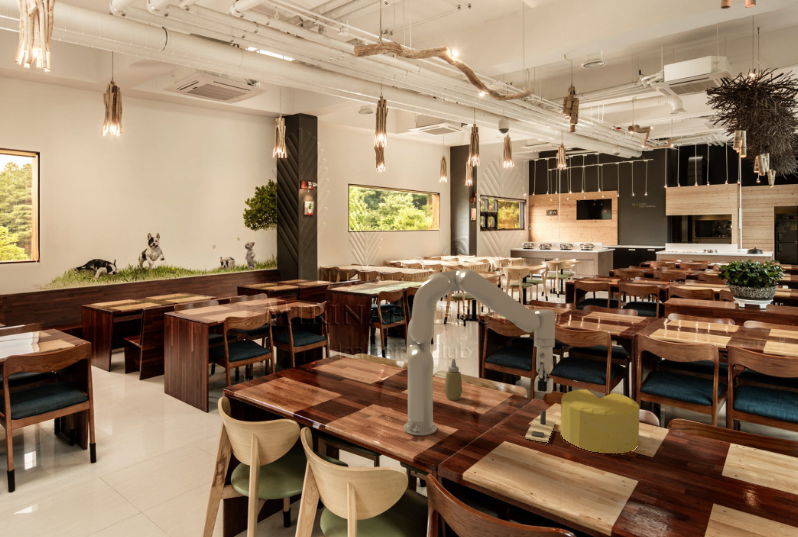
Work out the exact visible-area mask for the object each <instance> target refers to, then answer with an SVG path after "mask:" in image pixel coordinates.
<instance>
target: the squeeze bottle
mask: <svg viewBox="0 0 798 537" xmlns="http://www.w3.org/2000/svg"><path fill="white" fill-rule="evenodd" d="M447 368H448V371H446V373H445V383H444V384H445V385H444V394H445V397H446V399H447V400H450V401H458V400H460V399H461V396H462V393H463V381H462V373H461V372H460V368H459V366H457V363H456V359H455V358H453V359H452V360H451V364H450V366H448V367H447Z"/></svg>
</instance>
